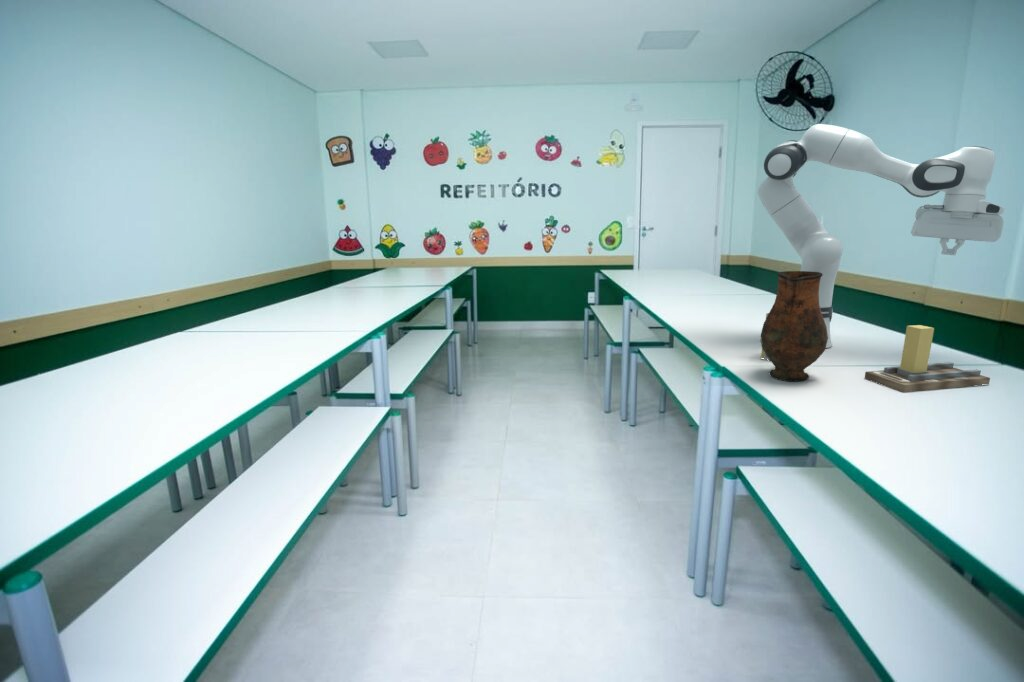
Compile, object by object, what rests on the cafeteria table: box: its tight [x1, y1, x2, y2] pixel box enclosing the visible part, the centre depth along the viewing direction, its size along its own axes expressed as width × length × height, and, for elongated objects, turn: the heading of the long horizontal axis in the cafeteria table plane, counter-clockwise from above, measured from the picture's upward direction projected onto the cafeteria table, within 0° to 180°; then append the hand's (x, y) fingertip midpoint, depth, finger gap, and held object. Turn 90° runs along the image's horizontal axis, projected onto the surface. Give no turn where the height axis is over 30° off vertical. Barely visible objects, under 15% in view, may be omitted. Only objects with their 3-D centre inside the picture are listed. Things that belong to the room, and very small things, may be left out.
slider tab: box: [897, 324, 935, 377], centre depth 133 cm, size 5×4×14 cm
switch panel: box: [864, 361, 991, 393], centre depth 135 cm, size 26×12×4 cm, turn 99°
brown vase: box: [760, 270, 828, 382], centre depth 142 cm, size 17×21×30 cm
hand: (948, 254), depth 146 cm, fingers closed
